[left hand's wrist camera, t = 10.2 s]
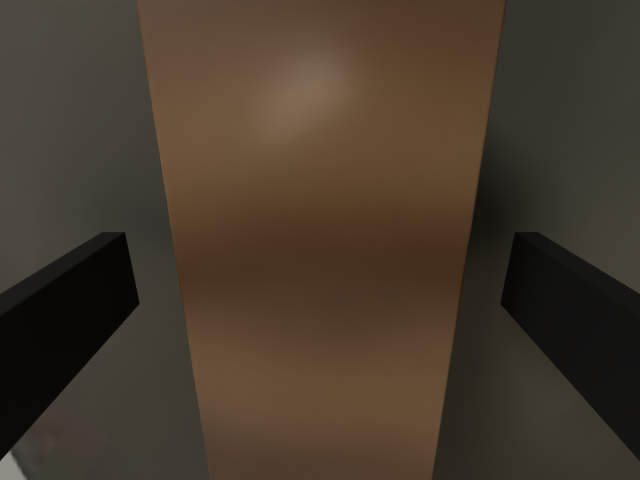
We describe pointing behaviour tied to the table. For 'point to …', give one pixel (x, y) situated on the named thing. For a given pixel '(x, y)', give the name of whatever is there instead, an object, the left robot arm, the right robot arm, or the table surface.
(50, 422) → the table surface
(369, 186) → the beam
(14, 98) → the table surface
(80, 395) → the table surface
